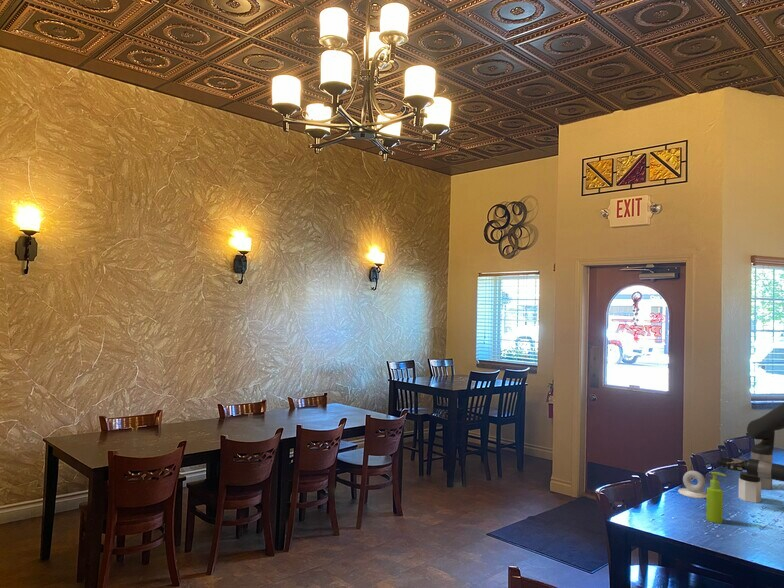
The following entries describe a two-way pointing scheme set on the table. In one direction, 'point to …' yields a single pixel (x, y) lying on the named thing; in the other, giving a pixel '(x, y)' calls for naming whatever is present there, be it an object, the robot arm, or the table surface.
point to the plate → (692, 493)
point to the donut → (692, 487)
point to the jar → (749, 488)
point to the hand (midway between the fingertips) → (719, 461)
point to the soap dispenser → (714, 500)
